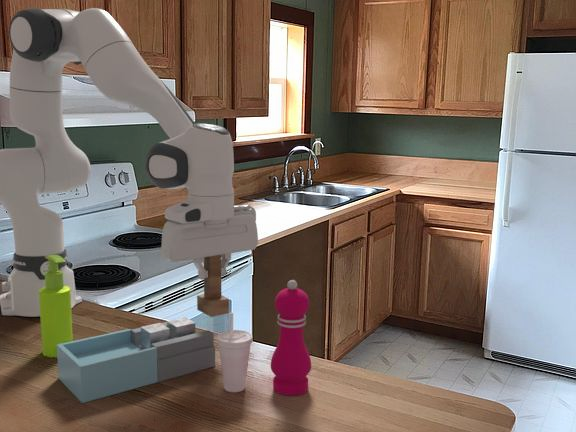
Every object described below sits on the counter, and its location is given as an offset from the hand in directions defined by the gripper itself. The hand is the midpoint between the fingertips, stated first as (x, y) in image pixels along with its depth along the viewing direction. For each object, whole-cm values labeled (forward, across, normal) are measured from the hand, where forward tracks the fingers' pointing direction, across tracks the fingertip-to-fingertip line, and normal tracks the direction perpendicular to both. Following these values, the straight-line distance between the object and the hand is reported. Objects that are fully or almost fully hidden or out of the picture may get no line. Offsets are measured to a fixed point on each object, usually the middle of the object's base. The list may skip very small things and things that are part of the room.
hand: (212, 277), depth 125 cm
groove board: (+16, +9, 0) cm, 18 cm away
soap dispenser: (+16, +25, -18) cm, 35 cm away
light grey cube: (+12, +12, 0) cm, 17 cm away
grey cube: (+12, +7, 0) cm, 14 cm away
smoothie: (+16, +5, +16) cm, 23 cm away
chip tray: (+16, +22, 0) cm, 27 cm away
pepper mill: (+16, -3, +22) cm, 27 cm away
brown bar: (+7, 0, 0) cm, 7 cm away
